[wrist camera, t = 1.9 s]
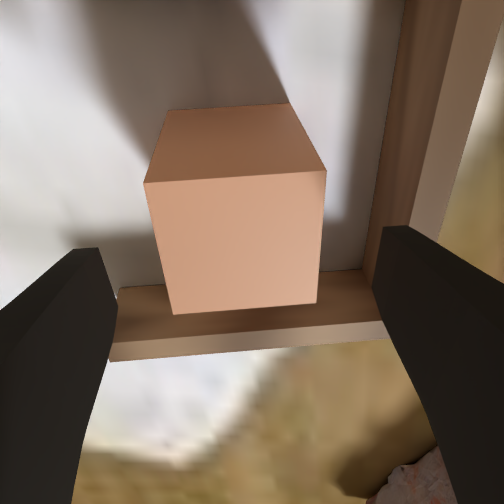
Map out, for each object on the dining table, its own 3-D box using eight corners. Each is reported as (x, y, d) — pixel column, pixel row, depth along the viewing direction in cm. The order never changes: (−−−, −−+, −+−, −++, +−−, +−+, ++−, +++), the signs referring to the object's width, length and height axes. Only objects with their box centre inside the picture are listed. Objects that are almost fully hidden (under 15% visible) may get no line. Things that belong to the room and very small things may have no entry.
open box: (125, 305, 20) (110, 362, 17) (7, -58, 11) (-65, -66, 8) (381, 285, 20) (408, 336, 17) (457, -79, 12) (535, -94, 9)
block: (185, 215, 17) (173, 314, 12) (168, 110, 14) (143, 183, 9) (288, 208, 17) (316, 302, 12) (289, 102, 14) (326, 170, 10)
